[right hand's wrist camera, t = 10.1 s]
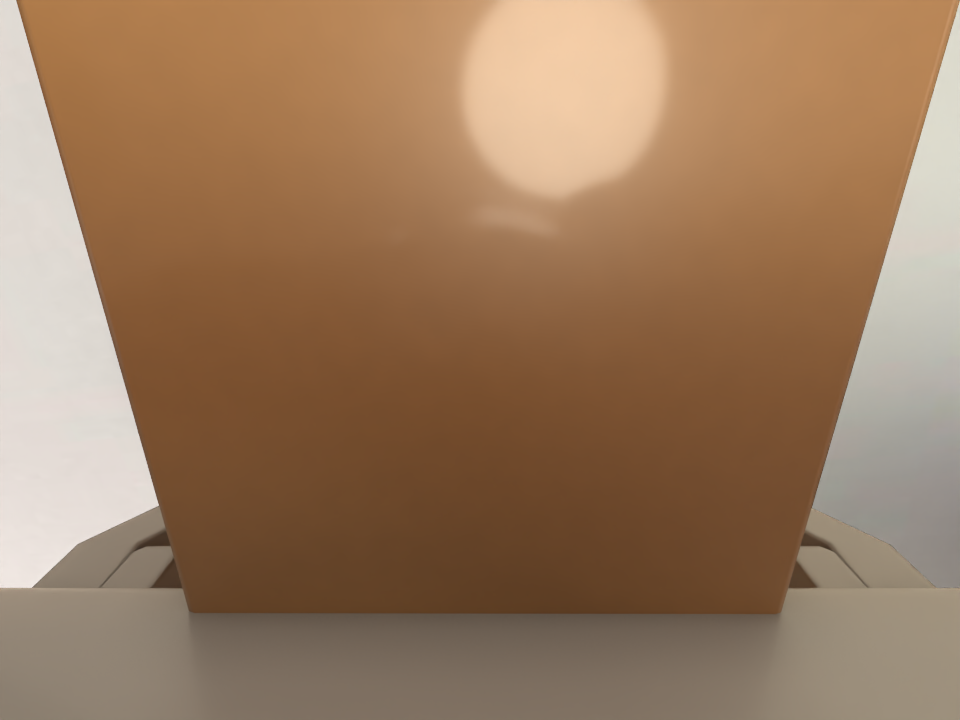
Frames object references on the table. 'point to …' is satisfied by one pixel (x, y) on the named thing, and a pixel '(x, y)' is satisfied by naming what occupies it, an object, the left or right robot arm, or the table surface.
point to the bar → (486, 283)
